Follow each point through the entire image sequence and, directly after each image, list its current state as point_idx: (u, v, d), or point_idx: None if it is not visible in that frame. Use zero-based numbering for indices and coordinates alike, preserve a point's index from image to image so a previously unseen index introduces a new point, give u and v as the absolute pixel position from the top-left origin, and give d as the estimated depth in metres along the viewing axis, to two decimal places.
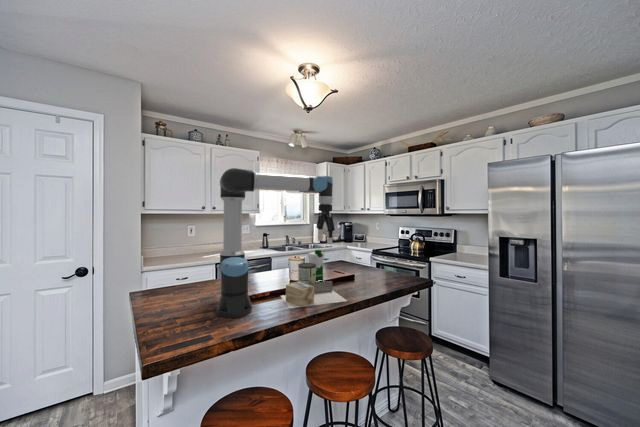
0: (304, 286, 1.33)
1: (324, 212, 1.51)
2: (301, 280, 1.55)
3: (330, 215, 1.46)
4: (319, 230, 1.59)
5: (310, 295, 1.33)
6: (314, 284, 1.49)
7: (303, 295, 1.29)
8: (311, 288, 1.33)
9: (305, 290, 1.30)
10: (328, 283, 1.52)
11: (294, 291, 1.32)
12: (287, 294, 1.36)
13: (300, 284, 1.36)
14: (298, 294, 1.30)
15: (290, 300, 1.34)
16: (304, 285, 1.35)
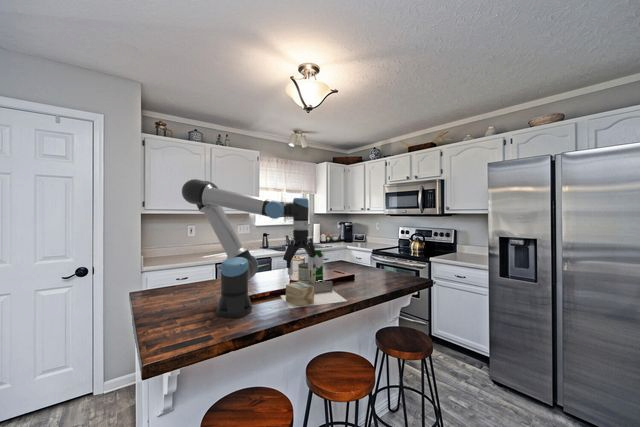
0: (304, 286, 1.33)
1: None
2: (301, 280, 1.55)
3: (290, 243, 1.30)
4: (308, 258, 1.40)
5: (310, 295, 1.33)
6: (314, 284, 1.49)
7: (303, 295, 1.29)
8: (311, 288, 1.33)
9: (305, 290, 1.30)
10: (328, 283, 1.52)
11: (294, 291, 1.32)
12: (287, 294, 1.36)
13: (300, 284, 1.36)
14: (298, 294, 1.30)
15: (290, 300, 1.34)
16: (304, 285, 1.35)
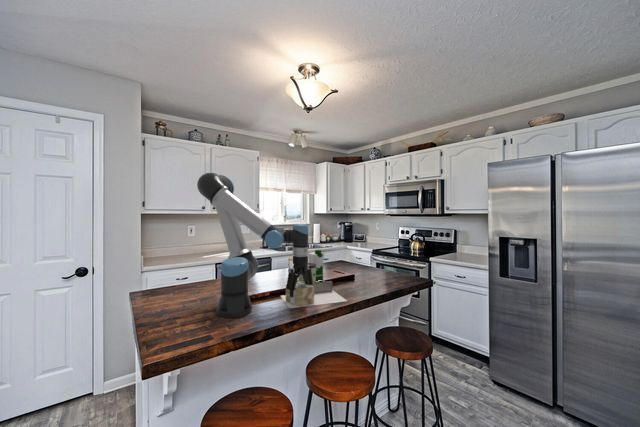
0: (304, 286, 1.33)
1: None
2: (301, 280, 1.55)
3: (290, 272, 1.30)
4: None
5: (310, 295, 1.33)
6: (314, 284, 1.49)
7: (303, 295, 1.29)
8: (311, 288, 1.33)
9: (305, 290, 1.30)
10: (328, 283, 1.52)
11: None
12: (287, 294, 1.36)
13: (300, 284, 1.36)
14: (298, 294, 1.30)
15: None
16: (304, 285, 1.35)
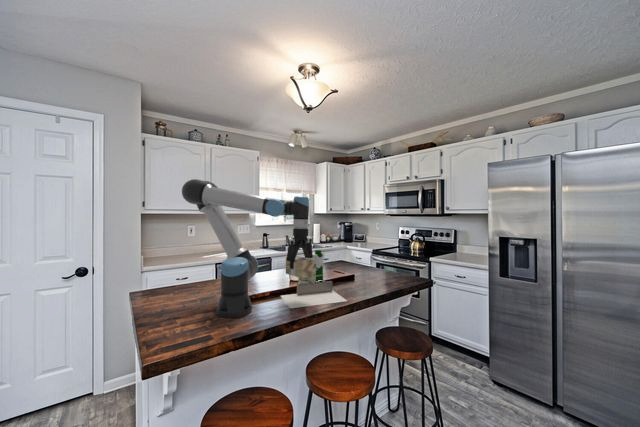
0: (304, 258, 1.33)
1: None
2: (301, 280, 1.55)
3: (290, 243, 1.30)
4: None
5: (310, 267, 1.32)
6: (314, 284, 1.49)
7: (303, 266, 1.29)
8: (311, 260, 1.33)
9: (305, 262, 1.30)
10: (328, 283, 1.52)
11: None
12: (287, 267, 1.35)
13: (300, 257, 1.36)
14: (298, 266, 1.30)
15: (290, 272, 1.34)
16: (304, 258, 1.34)
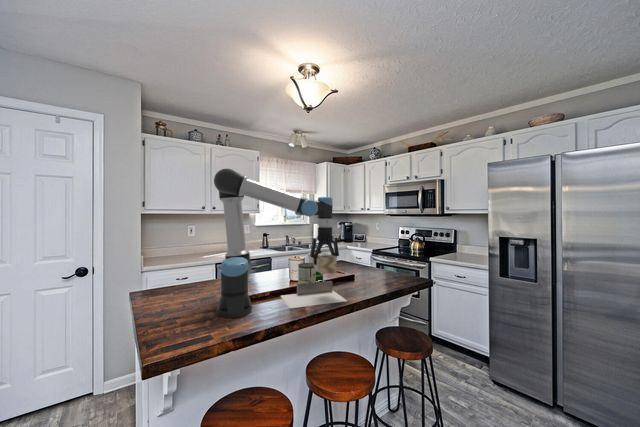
0: (327, 256, 1.39)
1: None
2: (301, 280, 1.55)
3: (313, 241, 1.40)
4: None
5: (332, 264, 1.38)
6: (314, 284, 1.49)
7: (323, 263, 1.36)
8: (333, 258, 1.38)
9: (326, 259, 1.36)
10: (328, 283, 1.52)
11: None
12: None
13: (325, 254, 1.43)
14: (320, 262, 1.38)
15: None
16: (328, 255, 1.41)
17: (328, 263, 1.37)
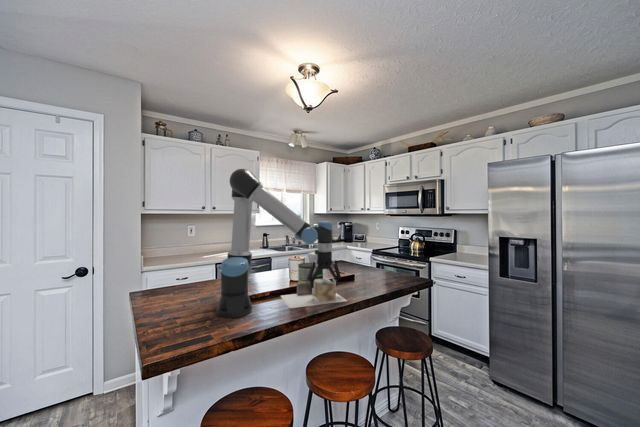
0: (326, 283, 1.40)
1: None
2: (301, 280, 1.55)
3: (312, 264, 1.40)
4: (333, 280, 1.46)
5: (331, 291, 1.38)
6: None
7: (322, 291, 1.36)
8: (332, 285, 1.38)
9: (325, 286, 1.37)
10: None
11: (317, 286, 1.41)
12: None
13: (325, 280, 1.44)
14: (319, 290, 1.38)
15: (315, 294, 1.44)
16: (327, 282, 1.41)
17: (327, 290, 1.37)
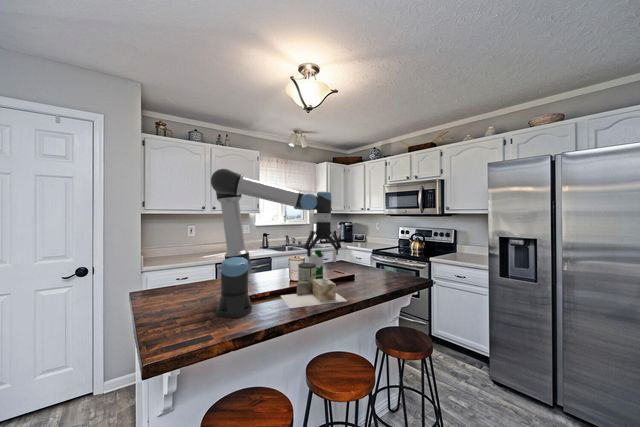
0: (326, 283, 1.40)
1: None
2: (301, 280, 1.55)
3: (310, 233, 1.40)
4: (333, 250, 1.46)
5: (331, 291, 1.38)
6: None
7: (322, 291, 1.36)
8: (332, 285, 1.38)
9: (325, 286, 1.37)
10: None
11: (317, 286, 1.41)
12: (313, 288, 1.46)
13: (325, 280, 1.44)
14: (319, 290, 1.38)
15: (315, 294, 1.44)
16: (327, 282, 1.41)
17: (327, 290, 1.37)
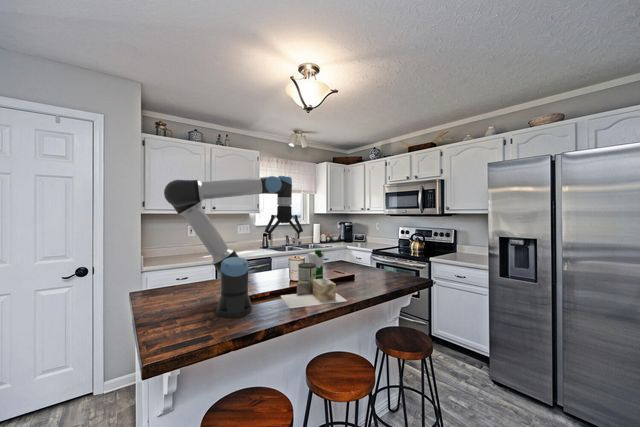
0: (326, 283, 1.40)
1: None
2: (301, 280, 1.55)
3: (271, 217, 1.42)
4: (295, 234, 1.48)
5: (331, 291, 1.38)
6: None
7: (322, 291, 1.36)
8: (332, 285, 1.38)
9: (325, 286, 1.37)
10: None
11: (317, 286, 1.41)
12: (313, 288, 1.46)
13: (325, 280, 1.44)
14: (319, 290, 1.38)
15: (315, 294, 1.44)
16: (327, 282, 1.41)
17: (327, 290, 1.37)
